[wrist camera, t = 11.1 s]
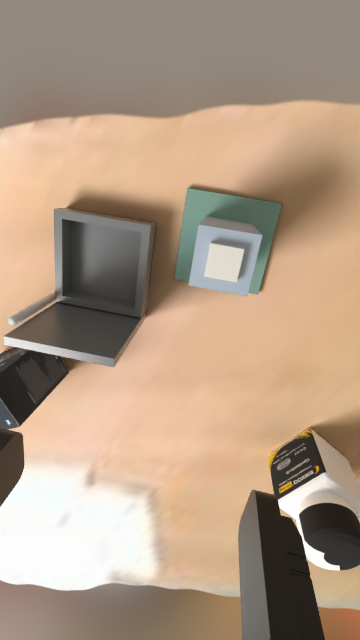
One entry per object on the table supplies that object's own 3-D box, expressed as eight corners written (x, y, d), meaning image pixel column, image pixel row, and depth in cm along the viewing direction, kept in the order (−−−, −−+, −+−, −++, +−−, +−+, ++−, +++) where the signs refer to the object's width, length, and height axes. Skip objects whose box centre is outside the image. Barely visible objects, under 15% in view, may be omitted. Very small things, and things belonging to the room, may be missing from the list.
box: (49, 334, 38) (-12, 382, 28) (71, 371, 40) (21, 428, 30) (1, 351, 40) (-71, 402, 30) (24, 386, 42) (-37, 444, 32)
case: (156, 223, 31) (123, 236, 21) (145, 317, 35) (113, 367, 25) (57, 206, 32) (-21, 211, 22) (58, 300, 36) (-7, 342, 26)
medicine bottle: (309, 425, 38) (344, 520, 27) (347, 458, 39) (396, 562, 28) (266, 454, 40) (282, 552, 29) (303, 484, 42) (332, 589, 31)
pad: (281, 203, 29) (282, 203, 28) (257, 293, 32) (258, 294, 32) (187, 188, 29) (187, 188, 29) (174, 277, 33) (174, 279, 32)
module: (251, 223, 29) (263, 236, 20) (241, 269, 31) (247, 298, 22) (205, 216, 30) (197, 225, 21) (198, 261, 31) (187, 287, 23)
